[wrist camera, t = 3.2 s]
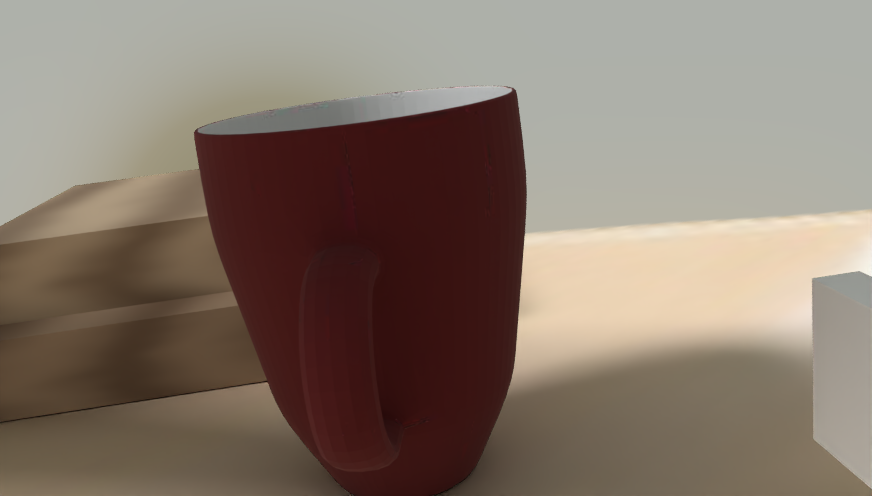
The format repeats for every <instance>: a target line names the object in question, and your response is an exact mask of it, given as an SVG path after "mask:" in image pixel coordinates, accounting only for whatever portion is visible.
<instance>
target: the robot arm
mask: <svg viewBox="0 0 872 496" xmlns="http://www.w3.org/2000/svg"><path fill="white" fill-rule="evenodd" d="M812 320H813V439H814V440H815V441H816V442H817V443H818V444H819V445H821V446H822V447H823V448H824V449H825V450H826V451H828V452H829V453H830V454H831V455H832V456H834V457H835V458H836V459H837V460H838V461H839V462H841V463H842V464H843V465H844V466H845V467H846V468H848V469H849V470H850V471H851V472H852V473H853V474H855V475H856V476H857V477H858V478H859V479H860V480H862V481H863V482H864V483H865V484H866V485H867V486H869V487H870V488H871V489H872V277H871V276H869V275H866V274H864V273H862V272H860V271H858V272H851V273H845V274H838V275H832V276H825V277H818V278H812Z"/></svg>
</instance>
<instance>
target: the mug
mask: <svg viewBox="0 0 872 496" xmlns="http://www.w3.org/2000/svg"><path fill="white" fill-rule="evenodd" d="M194 138H195V145H196V151H197V157H198V163H199V170H200V176H201V182H202V187H203V192H204V198H205V203H206V208H207V214H208V218H209V222H210V226H211V230H212V234H213V238H214V241H215V244H216V248H217V251H218V254H219V256H220V259H221V262H222V265H223V267H224V270H225V273H226V275H227V278H228V280H229V283H230V286H231V288H232V291H233V293H234V296H235V299H236V301H237V304H238V306H239V309H240V312H241V314H242V317H243V319H244V322H245V324H246V327H247V330H248V332H249V335H250V337H251V340H252V343H253V345H254V348H255V350H256V353H257V356H258V358H259V361H260V363H261V366H262V369H263V371H264V374H265V376H266V379H267V382H268V384H269V387H270V389H271V391H272V394H273V396H274V398H275V401H276V403H277V405H278V407H279V408H280V410H281V412H282V414H283V416H284V417H285V419H286V420H287V422H288V423H289V425H290V426H291V428H292V429H293V430H294V432H295V433H296V434H297V435H298V437H299V438H300V439H301V440H302V442H303V443H304V444H305V445H306V447H307V448H308V449H309V450H310V451H311V452H312V454H313V455H314V456H315V457H316V458H317V459H318V461H319V462H320V463H321V464H322V465H323V466H324V467H325V469H326V470H327V471H328V472H329V473H330V474H331V475H332V477H333V478H334V479H335V480H336V481H337V482H338V484H340V485H341V486H342V487H343V488H344V489H345V490H347V491H348V492H350V493H351V494H353V495H355V496H432V495H435V494H438V493H441V492H443V491H445V490H447V489H450V488H452V487H453V486H455V485H456V484H458V483H460V482H461V481H463V480H464V479H465V478H466V477H467V476H468V475H469V474H470V473H471V472H472V470H473V469H474V468H475V466H476V465H477V463H478V461H479V459H480V457H481V454H482V452H483V450H484V448H485V445H486V443H487V441H488V439H489V436H490V434H491V432H492V429H493V427H494V425H495V423H496V420H497V418H498V416H499V413H500V411H501V408H502V405H503V403H504V400H505V398H506V395H507V392H508V388H509V385H510V382H511V378H512V374H513V369H514V361H515V353H516V340H517V327H518V314H519V301H520V288H521V275H522V262H523V249H524V236H525V219H526V198H527V197H526V196H527V194H526V193H527V191H526V169H525V159H524V149H523V140H522V131H521V123H520V115H519V107H518V99H517V93H516V90H515V89H514V88H511V87H505V86H467V87H466V86H465V87H450V88H436V89H425V90H413V91H403V92H395V93H385V94H376V95H369V96H360V97H352V98H345V99H338V100H331V101H324V102H317V103H310V104H304V105H298V106H292V107H286V108H280V109H274V110H269V111H263V112H258V113H253V114H248V115H243V116H239V117H234V118H230V119H226V120H222V121H218V122H214V123H211V124H208V125H205V126H202V127H200V128H198V129H196V130H195V132H194Z"/></svg>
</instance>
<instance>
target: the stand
mask: <svg viewBox="0 0 872 496" xmlns="http://www.w3.org/2000/svg"><path fill="white" fill-rule="evenodd" d="M262 381H267V379H266V376H265V374H264V371H263V369H262V366H261V363H260V361H259V358H258V356H257V353H256V350H255V348H254V345H253V343H252V340H251V337H250V335H249V332H248V330H247V327H246V324H245V322H244V319H243V317H242V314H241V312H240V309H239V306H238V304H237V301H236V299H235V296H234V293H233V291H232V288H231V286H230V283H229V280H228V278H227V275H226V273H225V270H224V267H223V265H222V262H221V259H220V256H219V254H218V251H217V248H216V244H215V241H214V238H213V234H212V230H211V226H210V222H209V218H208V214H207V208H206V203H205V198H204V192H203V187H202V182H201V176H200V170H199V169H195V170H188V171H181V172H174V173H166V174H158V175H151V176H143V177H136V178H129V179H122V180H114V181H106V182H100V183H92V184H84V185H77V186H74V187H72V188H70V189H68V190H66V191H64V192H63V193H61V194H59V195H57V196H55V197H53V198H51V199H50V200H48V201H46V202H44V203H42V204H40V205H39V206H37V207H35V208H33V209H31V210H29V211H27V212H26V213H24V214H22V215H20V216H18V217H16V218H15V219H13V220H11V221H9V222H7V223H5V224H4V225H2V226H0V422H3V421H9V420H16V419H22V418H29V417H35V416H42V415H48V414H55V413H61V412H68V411H74V410H81V409H87V408H94V407H100V406H107V405H113V404H120V403H126V402H132V401H139V400H145V399H152V398H158V397H165V396H171V395H178V394H184V393H191V392H197V391H204V390H210V389H217V388H223V387H230V386H236V385H243V384H249V383H256V382H262Z"/></svg>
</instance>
